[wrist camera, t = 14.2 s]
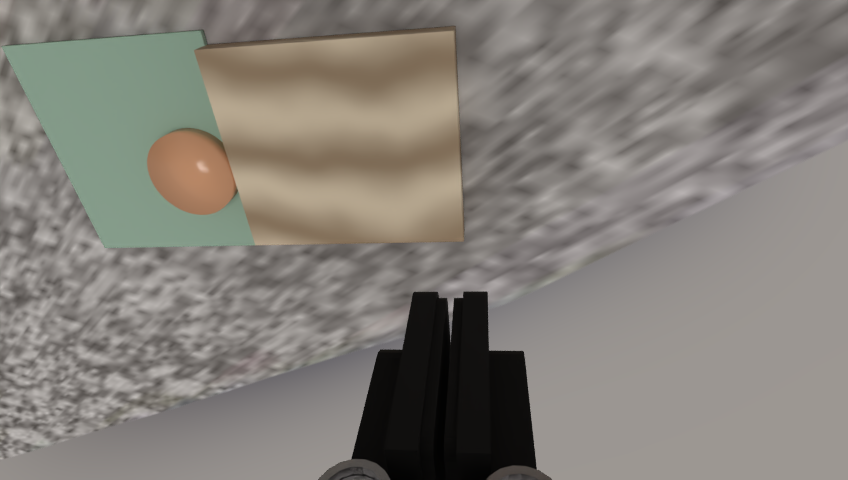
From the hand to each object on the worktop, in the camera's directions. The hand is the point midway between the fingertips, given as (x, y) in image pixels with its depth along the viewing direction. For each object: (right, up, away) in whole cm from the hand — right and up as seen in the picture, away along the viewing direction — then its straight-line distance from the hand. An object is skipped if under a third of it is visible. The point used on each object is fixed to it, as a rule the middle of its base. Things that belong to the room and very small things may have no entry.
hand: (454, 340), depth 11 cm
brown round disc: (-19, +8, +29) cm, 36 cm away
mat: (-24, +10, +29) cm, 39 cm away
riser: (-7, +10, +27) cm, 29 cm away
